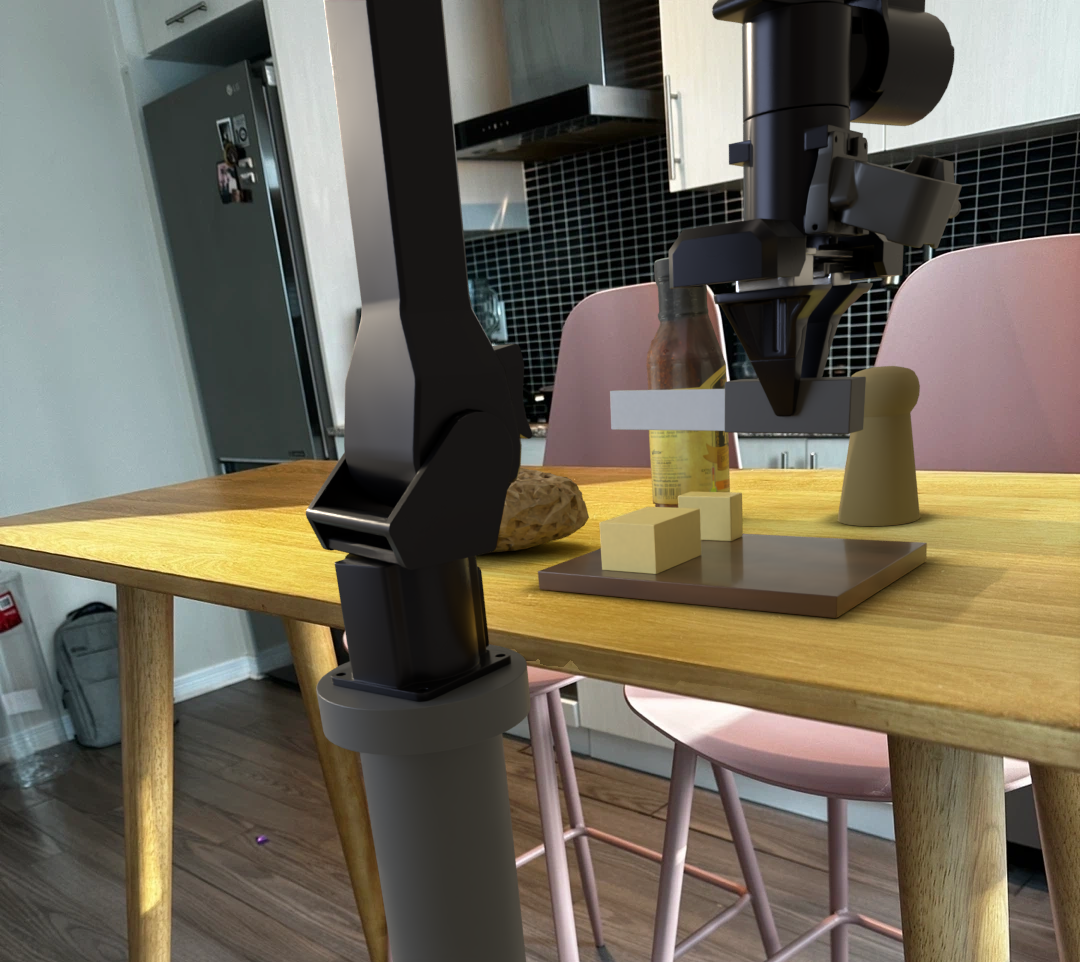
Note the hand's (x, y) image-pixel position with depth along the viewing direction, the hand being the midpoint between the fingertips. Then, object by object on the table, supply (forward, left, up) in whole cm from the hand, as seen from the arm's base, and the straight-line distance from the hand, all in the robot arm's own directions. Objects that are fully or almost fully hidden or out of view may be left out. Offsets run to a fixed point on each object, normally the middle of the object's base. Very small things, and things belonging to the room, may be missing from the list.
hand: (794, 414), depth 62 cm
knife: (0, +5, -1) cm, 5 cm away
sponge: (0, +27, -10) cm, 29 cm away
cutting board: (-2, +3, -10) cm, 10 cm away
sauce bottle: (+14, +15, -10) cm, 23 cm away
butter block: (-5, +7, -8) cm, 12 cm away
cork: (+18, +1, -10) cm, 20 cm away
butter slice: (+3, +7, -8) cm, 12 cm away
